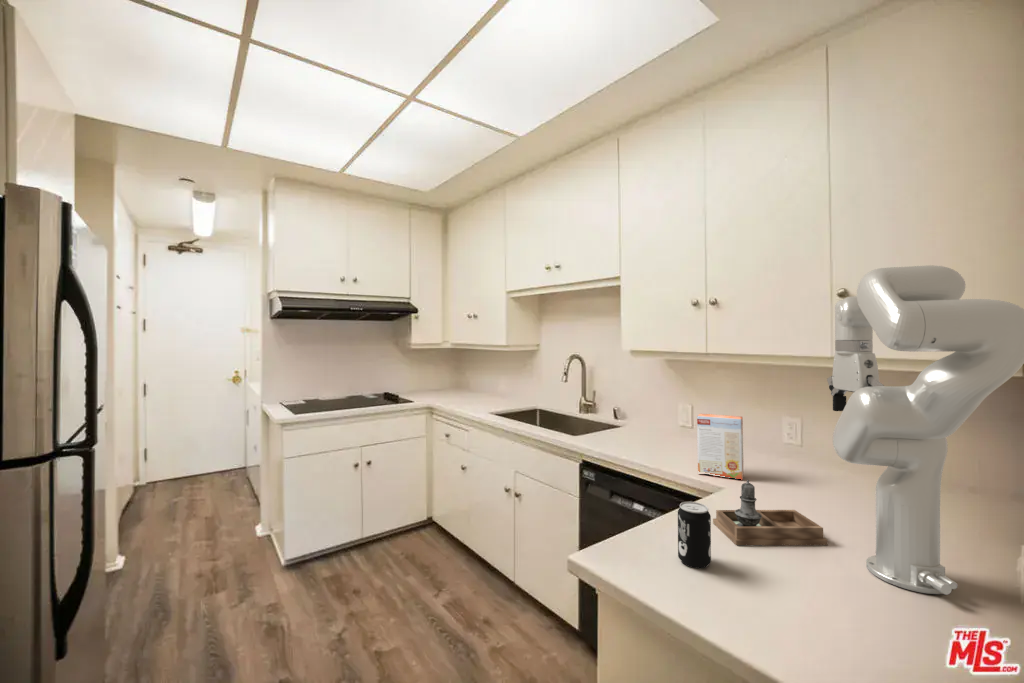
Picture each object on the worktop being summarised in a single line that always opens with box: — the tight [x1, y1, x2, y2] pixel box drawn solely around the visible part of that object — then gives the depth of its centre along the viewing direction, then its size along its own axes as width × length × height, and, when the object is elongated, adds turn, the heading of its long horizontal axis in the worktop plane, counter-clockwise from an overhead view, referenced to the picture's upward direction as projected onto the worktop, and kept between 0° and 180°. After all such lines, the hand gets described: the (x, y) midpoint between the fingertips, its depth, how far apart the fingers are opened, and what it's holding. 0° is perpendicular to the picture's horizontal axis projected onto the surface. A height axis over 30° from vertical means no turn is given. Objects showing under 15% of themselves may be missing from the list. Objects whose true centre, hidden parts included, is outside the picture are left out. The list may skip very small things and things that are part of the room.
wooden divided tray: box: [712, 509, 829, 546], centre depth 105 cm, size 21×12×4 cm, turn 89°
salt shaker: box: [734, 479, 762, 526], centre depth 105 cm, size 6×6×12 cm
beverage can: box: [677, 501, 712, 569], centre depth 93 cm, size 7×7×12 cm
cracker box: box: [696, 413, 744, 481], centre depth 149 cm, size 14×6×21 cm, turn 58°
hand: (853, 414), depth 110 cm, fingers open, 9 cm apart
